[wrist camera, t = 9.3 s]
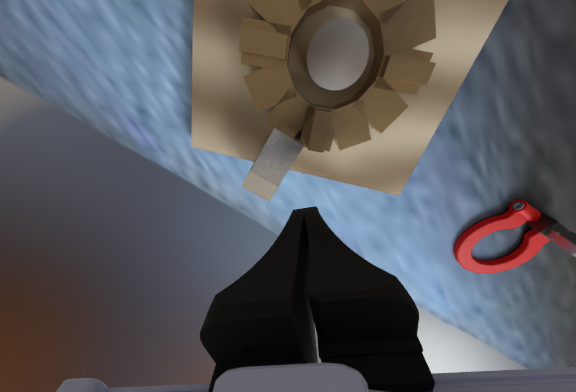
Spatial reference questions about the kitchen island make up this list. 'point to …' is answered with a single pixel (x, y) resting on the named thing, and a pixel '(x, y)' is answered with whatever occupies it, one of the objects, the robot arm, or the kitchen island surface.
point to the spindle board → (353, 163)
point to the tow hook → (511, 219)
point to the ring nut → (344, 116)
